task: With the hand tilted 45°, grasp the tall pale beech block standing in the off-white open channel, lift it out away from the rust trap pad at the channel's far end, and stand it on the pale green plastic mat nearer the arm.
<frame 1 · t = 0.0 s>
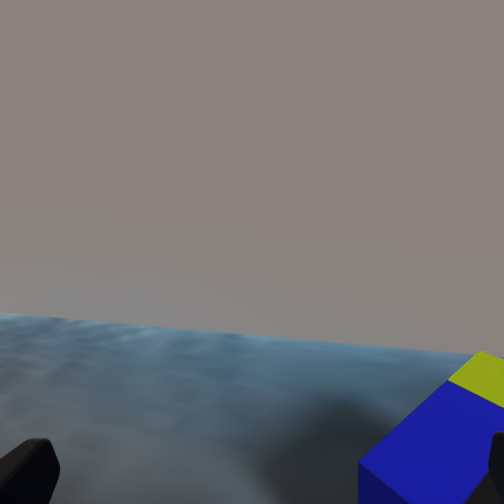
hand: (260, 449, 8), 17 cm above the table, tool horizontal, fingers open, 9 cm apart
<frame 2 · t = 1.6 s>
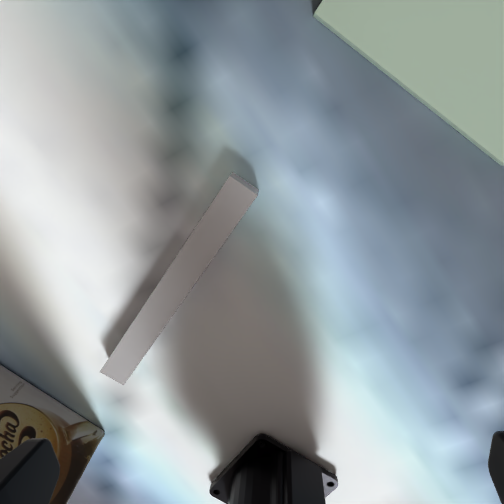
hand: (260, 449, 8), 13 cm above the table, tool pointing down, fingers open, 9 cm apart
rod: (177, 280, 21), on the table
coffee box: (31, 418, 26), on the table
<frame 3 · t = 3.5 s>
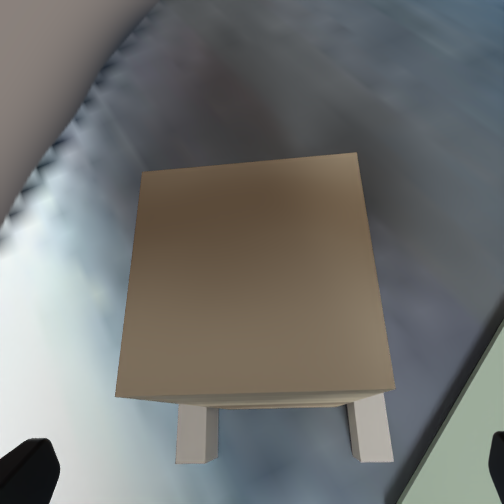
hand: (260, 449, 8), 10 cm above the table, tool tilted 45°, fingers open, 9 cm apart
block: (270, 326, 13), in the channel
channel: (279, 353, 18), on the table
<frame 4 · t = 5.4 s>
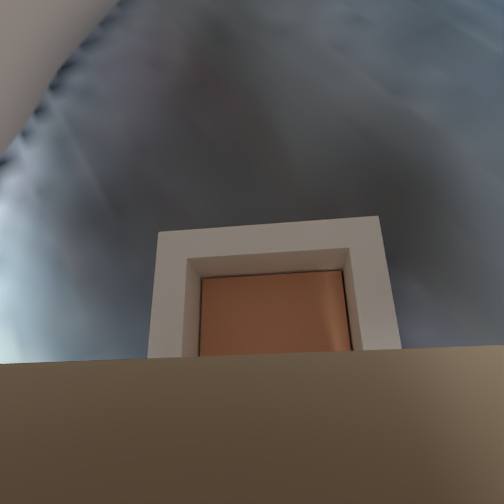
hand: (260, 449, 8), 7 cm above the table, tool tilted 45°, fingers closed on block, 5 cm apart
channel: (279, 478, 13), on the table
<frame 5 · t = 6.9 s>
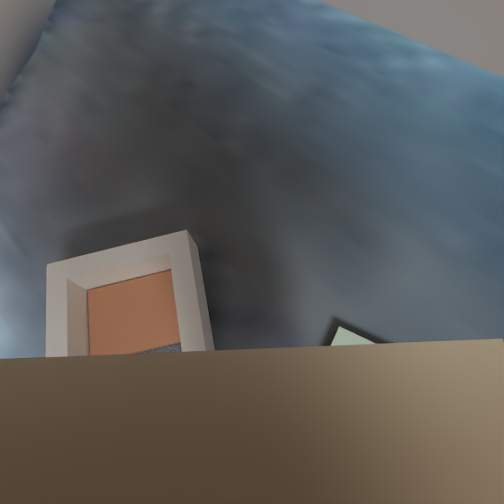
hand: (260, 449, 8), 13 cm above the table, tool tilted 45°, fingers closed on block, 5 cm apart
mat: (401, 485, 18), on the table
channel: (146, 406, 20), on the table
when the fingers open (9 cm above the table, at t = 8.5 s): block drops 2 cm, resting on mat.
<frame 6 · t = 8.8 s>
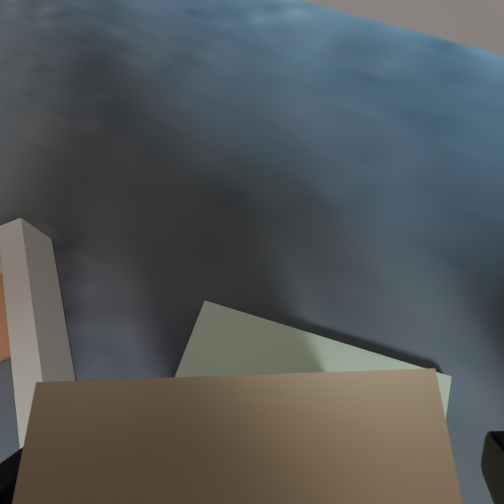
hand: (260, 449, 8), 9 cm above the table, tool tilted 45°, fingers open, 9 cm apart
mat: (282, 468, 15), on the table
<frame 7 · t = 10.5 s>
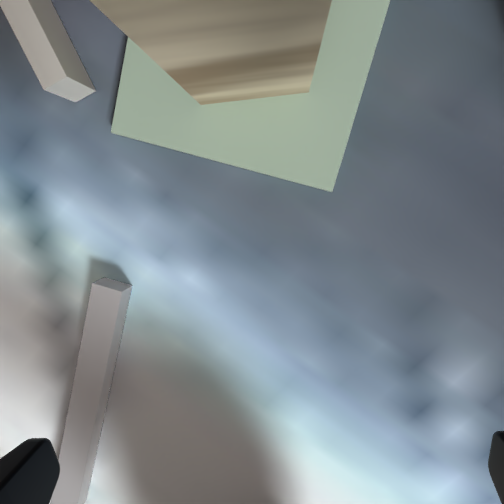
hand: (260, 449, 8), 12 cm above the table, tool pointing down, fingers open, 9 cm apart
rod: (97, 391, 22), on the table
mat: (250, 44, 17), on the table
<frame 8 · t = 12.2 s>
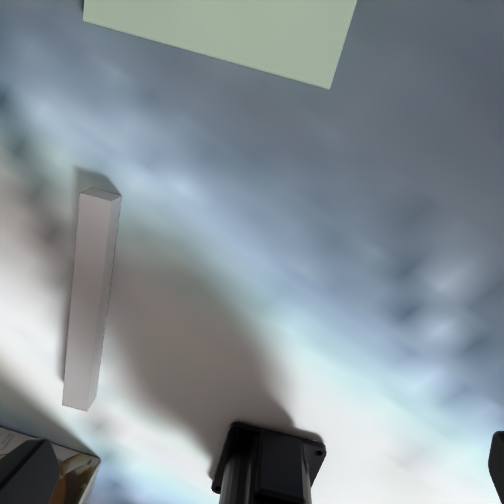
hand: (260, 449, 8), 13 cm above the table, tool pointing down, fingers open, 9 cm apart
rod: (97, 301, 22), on the table
coffee box: (38, 464, 28), on the table
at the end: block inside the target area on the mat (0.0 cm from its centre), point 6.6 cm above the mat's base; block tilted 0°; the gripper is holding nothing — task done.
